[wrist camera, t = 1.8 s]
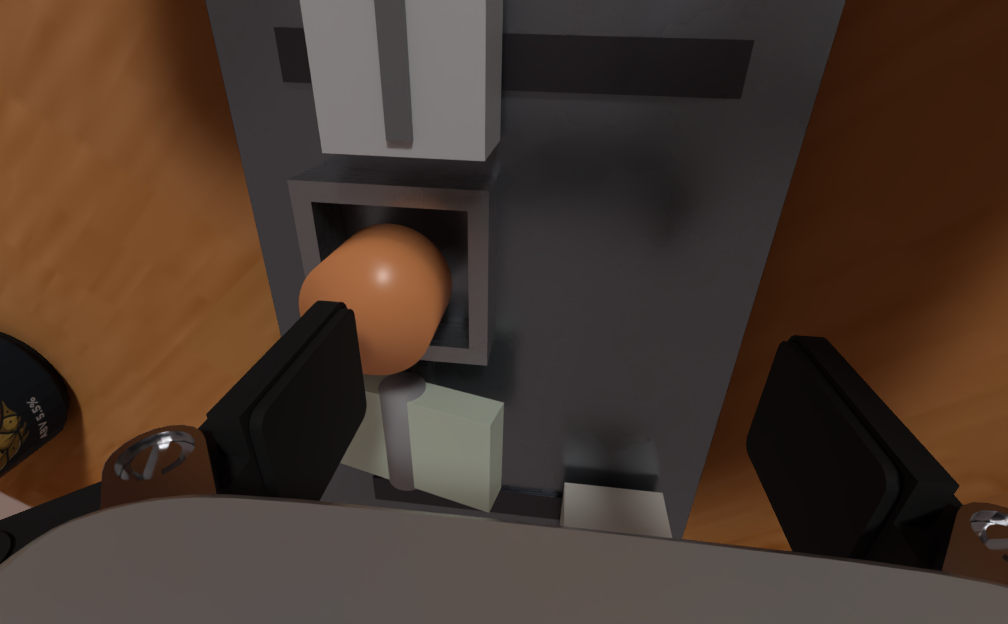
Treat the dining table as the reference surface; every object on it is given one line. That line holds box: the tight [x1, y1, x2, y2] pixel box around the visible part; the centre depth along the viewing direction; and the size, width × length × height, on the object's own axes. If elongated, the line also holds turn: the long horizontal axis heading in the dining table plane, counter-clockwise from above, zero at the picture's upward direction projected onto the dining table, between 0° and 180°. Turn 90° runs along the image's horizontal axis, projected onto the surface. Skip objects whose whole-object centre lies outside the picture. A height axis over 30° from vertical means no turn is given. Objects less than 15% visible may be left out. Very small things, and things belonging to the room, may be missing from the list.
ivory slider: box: [559, 482, 672, 538], centre depth 20 cm, size 4×4×3 cm
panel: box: [205, 0, 846, 539], centre depth 18 cm, size 17×23×4 cm
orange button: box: [299, 223, 452, 375], centre depth 14 cm, size 4×4×2 cm
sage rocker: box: [340, 372, 504, 513], centre depth 18 cm, size 7×4×2 cm, turn 88°
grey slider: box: [300, 0, 503, 161], centre depth 12 cm, size 4×4×3 cm
